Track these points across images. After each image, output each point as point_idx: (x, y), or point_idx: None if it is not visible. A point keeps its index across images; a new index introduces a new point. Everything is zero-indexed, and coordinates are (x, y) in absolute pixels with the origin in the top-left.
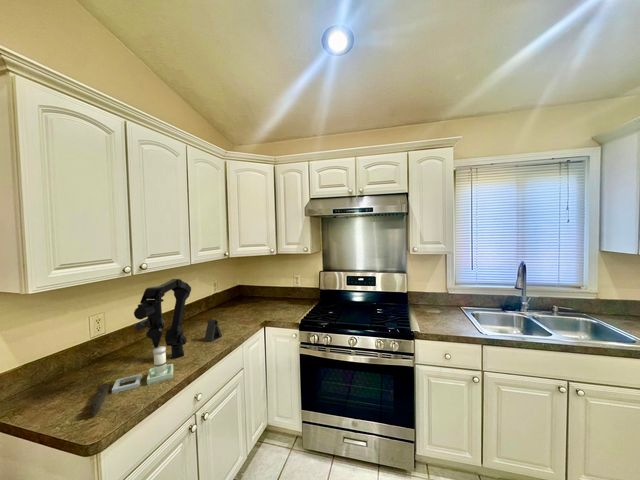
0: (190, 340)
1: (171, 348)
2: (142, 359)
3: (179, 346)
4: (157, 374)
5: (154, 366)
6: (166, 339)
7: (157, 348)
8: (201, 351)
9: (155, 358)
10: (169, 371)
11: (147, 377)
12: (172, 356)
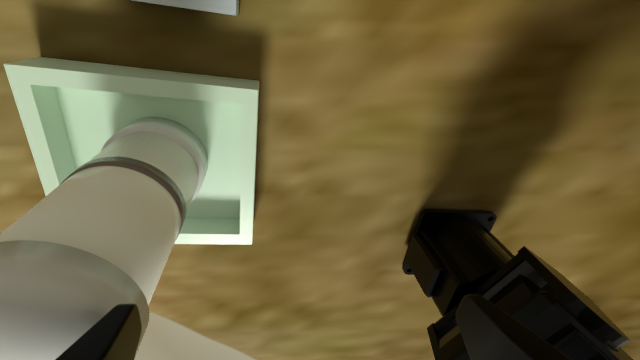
0: (590, 293)
1: (479, 256)
2: (598, 29)
3: (440, 309)
4: (102, 147)
5: (112, 154)
6: (539, 313)
7: (23, 351)
8: (391, 334)
9: (10, 226)
10: (189, 208)
11: (57, 69)
12: (439, 221)
